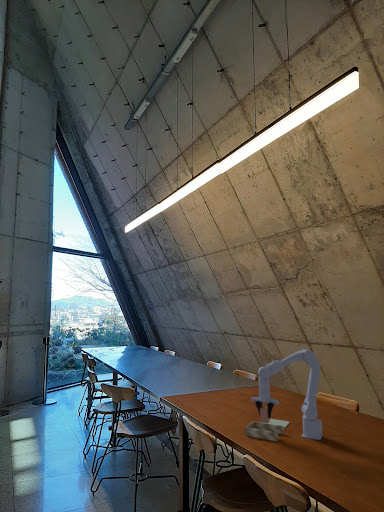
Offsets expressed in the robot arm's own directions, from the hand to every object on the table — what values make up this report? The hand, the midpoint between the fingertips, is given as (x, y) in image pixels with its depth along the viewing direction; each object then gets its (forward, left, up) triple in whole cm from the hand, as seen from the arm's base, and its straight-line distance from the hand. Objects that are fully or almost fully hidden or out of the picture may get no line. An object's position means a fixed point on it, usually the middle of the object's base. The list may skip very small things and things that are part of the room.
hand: (265, 417), depth 189 cm
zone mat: (0, -22, -9) cm, 24 cm away
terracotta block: (0, 0, -2) cm, 2 cm away
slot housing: (0, 0, -9) cm, 9 cm away
